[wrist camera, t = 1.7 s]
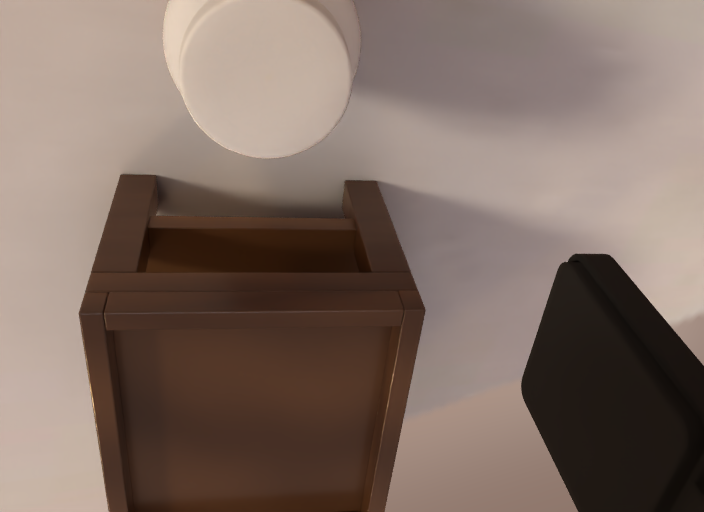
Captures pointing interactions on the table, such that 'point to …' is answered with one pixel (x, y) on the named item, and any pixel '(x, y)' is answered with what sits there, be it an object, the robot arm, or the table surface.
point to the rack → (249, 356)
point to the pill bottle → (263, 69)
